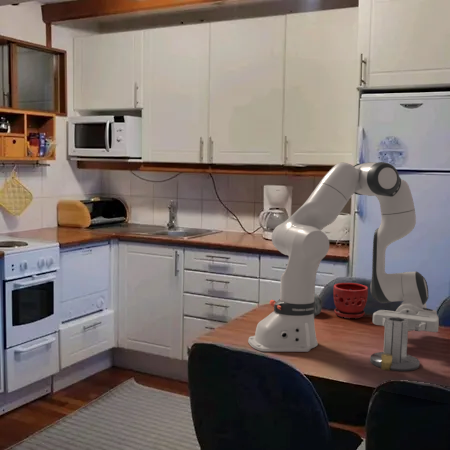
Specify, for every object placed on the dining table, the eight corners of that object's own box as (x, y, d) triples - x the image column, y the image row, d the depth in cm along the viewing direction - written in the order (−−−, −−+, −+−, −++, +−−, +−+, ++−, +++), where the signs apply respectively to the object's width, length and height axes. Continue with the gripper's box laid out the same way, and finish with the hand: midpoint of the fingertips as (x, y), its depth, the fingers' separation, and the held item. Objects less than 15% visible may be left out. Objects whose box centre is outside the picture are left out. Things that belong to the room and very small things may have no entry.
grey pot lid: (385, 372, 168) (386, 354, 167) (361, 357, 181) (362, 340, 181) (429, 369, 171) (430, 352, 171) (402, 354, 185) (403, 338, 184)
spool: (330, 308, 229) (317, 285, 230) (309, 320, 227) (297, 297, 228) (319, 308, 242) (307, 286, 243) (299, 320, 240) (288, 298, 241)
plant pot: (325, 313, 234) (326, 283, 233) (352, 310, 240) (354, 281, 239) (345, 321, 222) (347, 290, 221) (373, 318, 228) (375, 288, 227)
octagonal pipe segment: (384, 361, 174) (386, 321, 172) (382, 354, 180) (384, 316, 179) (407, 363, 172) (409, 323, 171) (404, 356, 179) (406, 317, 177)
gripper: (377, 303, 200) (368, 312, 188) (441, 311, 191) (436, 320, 179) (376, 321, 201) (367, 331, 188) (440, 330, 192) (435, 341, 179)
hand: (401, 326), depth 183 cm, fingers open, 8 cm apart
